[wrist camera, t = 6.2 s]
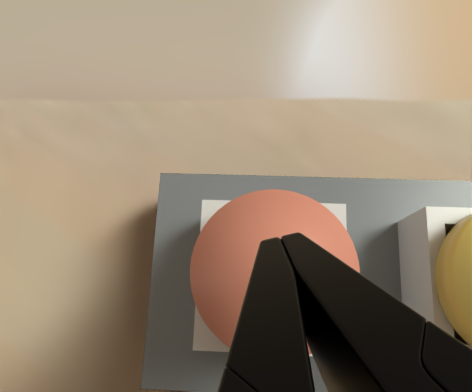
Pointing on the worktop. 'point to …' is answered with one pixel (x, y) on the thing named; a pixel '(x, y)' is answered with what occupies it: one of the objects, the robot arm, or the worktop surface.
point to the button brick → (254, 249)
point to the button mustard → (456, 278)
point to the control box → (348, 213)
